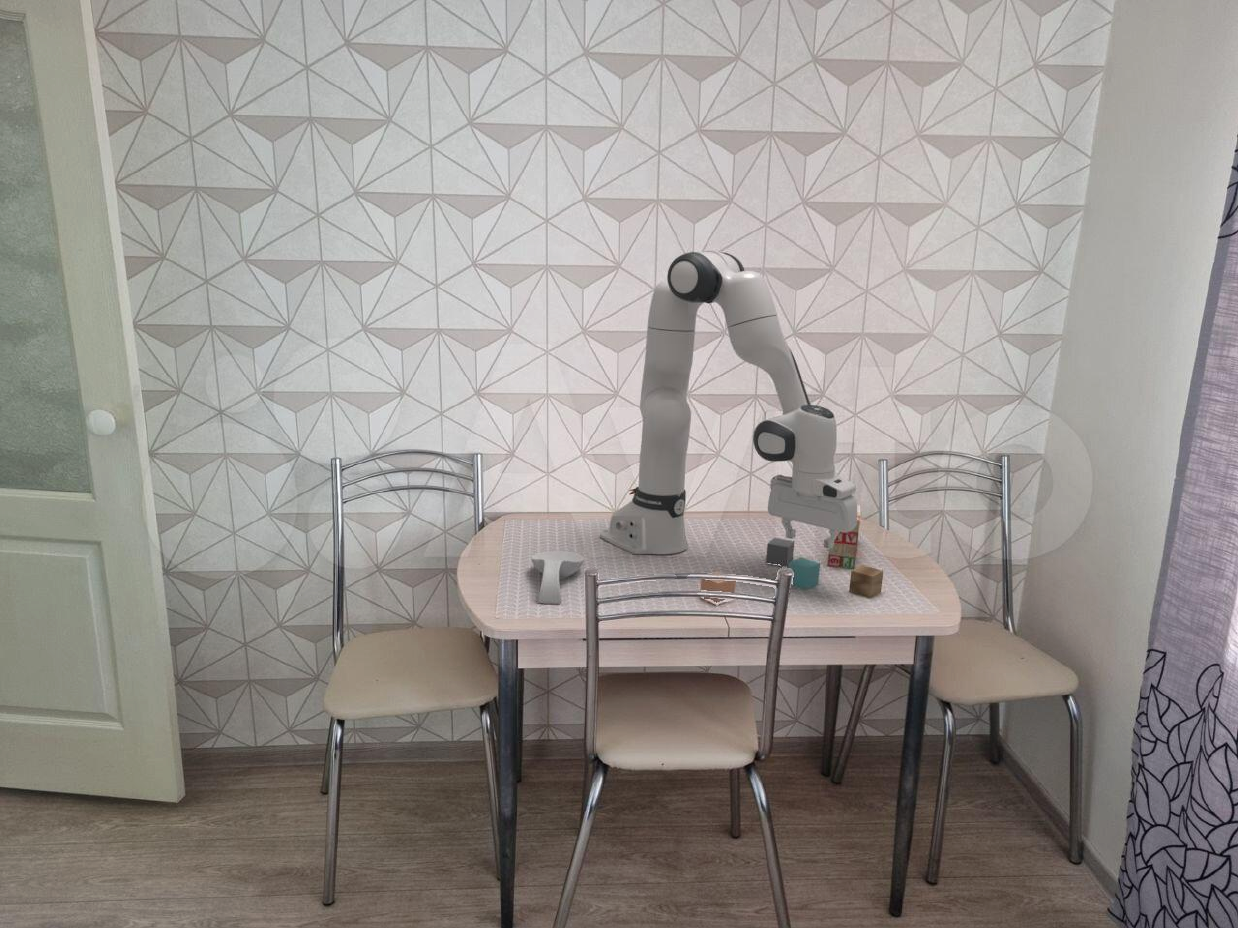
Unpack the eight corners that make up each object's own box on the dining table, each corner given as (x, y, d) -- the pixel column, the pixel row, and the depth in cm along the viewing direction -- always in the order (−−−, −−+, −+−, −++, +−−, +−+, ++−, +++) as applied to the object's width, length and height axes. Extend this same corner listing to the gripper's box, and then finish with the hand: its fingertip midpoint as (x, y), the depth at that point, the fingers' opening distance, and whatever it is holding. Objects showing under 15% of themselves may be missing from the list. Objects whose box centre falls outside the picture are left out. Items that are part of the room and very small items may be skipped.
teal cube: (786, 583, 198) (788, 562, 197) (798, 578, 202) (800, 557, 201) (806, 590, 195) (808, 568, 194) (818, 584, 199) (820, 563, 197)
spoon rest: (533, 563, 206) (534, 533, 204) (584, 565, 206) (585, 535, 204) (522, 604, 183) (522, 571, 181) (580, 606, 183) (580, 573, 181)
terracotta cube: (700, 598, 189) (701, 575, 188) (717, 593, 192) (718, 571, 191) (716, 606, 185) (718, 583, 184) (733, 600, 188) (735, 578, 187)
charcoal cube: (765, 563, 210) (767, 543, 209) (772, 557, 215) (774, 537, 213) (786, 567, 208) (788, 547, 207) (792, 561, 212) (794, 541, 211)
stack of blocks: (831, 538, 230) (836, 492, 227) (856, 541, 228) (861, 495, 225) (827, 566, 210) (832, 516, 207) (854, 570, 208) (860, 519, 205)
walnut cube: (849, 592, 195) (851, 570, 194) (860, 586, 199) (862, 564, 197) (870, 598, 192) (872, 576, 190) (881, 592, 195) (883, 570, 194)
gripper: (763, 475, 197) (761, 535, 200) (848, 493, 184) (844, 557, 187) (779, 470, 201) (776, 528, 205) (863, 487, 188) (858, 549, 192)
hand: (809, 542), depth 196 cm, fingers open, 8 cm apart
